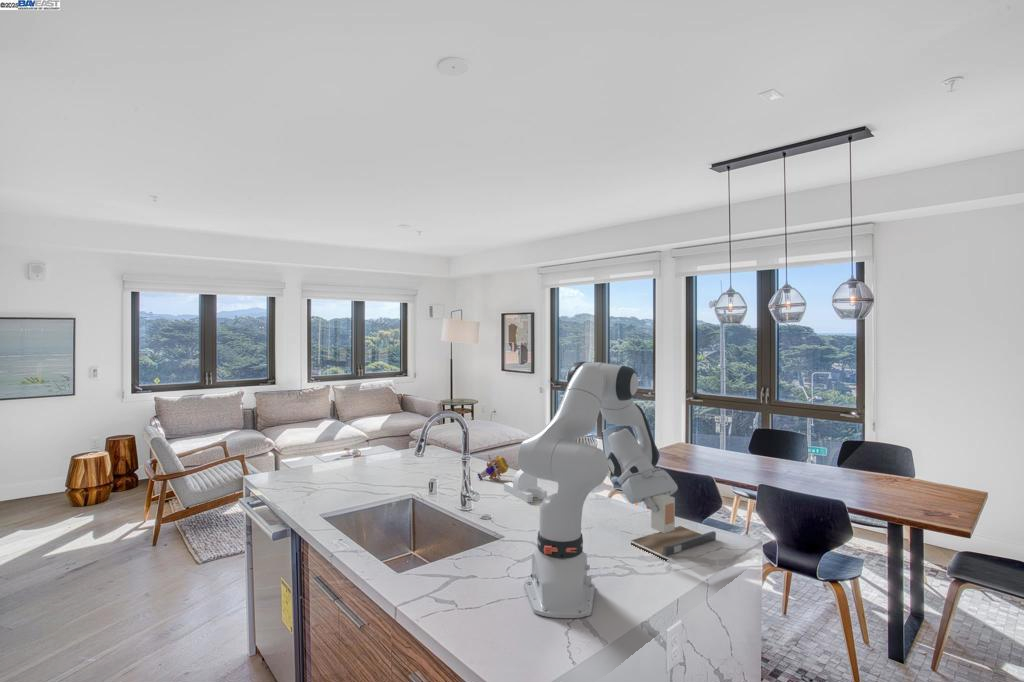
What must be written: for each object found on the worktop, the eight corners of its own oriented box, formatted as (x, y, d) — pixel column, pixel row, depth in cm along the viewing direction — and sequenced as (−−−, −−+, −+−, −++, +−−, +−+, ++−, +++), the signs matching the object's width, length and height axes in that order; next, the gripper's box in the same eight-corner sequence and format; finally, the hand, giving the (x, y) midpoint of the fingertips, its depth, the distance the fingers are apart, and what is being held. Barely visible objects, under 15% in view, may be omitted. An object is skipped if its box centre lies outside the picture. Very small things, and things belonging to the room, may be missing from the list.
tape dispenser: (503, 491, 218) (504, 466, 218) (523, 488, 223) (523, 463, 223) (527, 503, 203) (527, 476, 203) (547, 499, 208) (547, 473, 208)
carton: (651, 527, 160) (651, 496, 160) (661, 524, 163) (662, 493, 163) (664, 533, 156) (664, 500, 156) (675, 529, 159) (675, 497, 158)
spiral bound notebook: (715, 544, 165) (715, 539, 165) (665, 561, 152) (665, 556, 152) (680, 530, 176) (680, 525, 176) (630, 544, 163) (631, 540, 163)
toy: (471, 463, 237) (498, 446, 236) (477, 465, 244) (504, 449, 242) (483, 489, 231) (511, 473, 230) (489, 491, 238) (516, 475, 236)
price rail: (716, 540, 164) (716, 532, 164) (666, 556, 151) (666, 548, 151) (713, 538, 165) (713, 531, 165) (663, 555, 152) (663, 546, 152)
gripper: (656, 472, 175) (679, 508, 167) (613, 481, 163) (635, 521, 155) (667, 462, 171) (691, 499, 163) (623, 470, 160) (647, 510, 152)
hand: (664, 509), depth 159 cm, fingers closed on carton, 5 cm apart
